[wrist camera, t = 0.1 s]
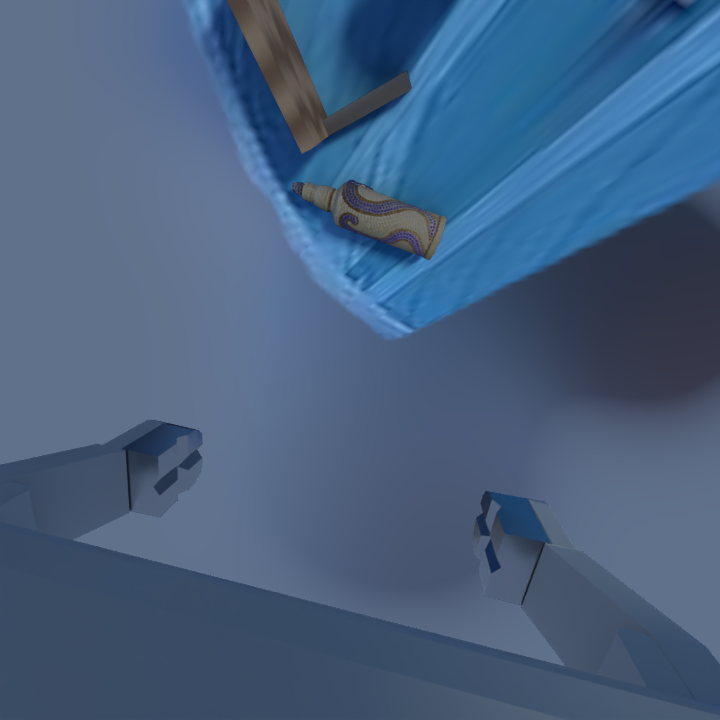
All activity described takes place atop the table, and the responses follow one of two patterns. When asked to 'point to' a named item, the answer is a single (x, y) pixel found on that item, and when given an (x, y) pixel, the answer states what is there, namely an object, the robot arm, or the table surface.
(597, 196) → the table surface
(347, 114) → the wooden display stand
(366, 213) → the decorative bottle
